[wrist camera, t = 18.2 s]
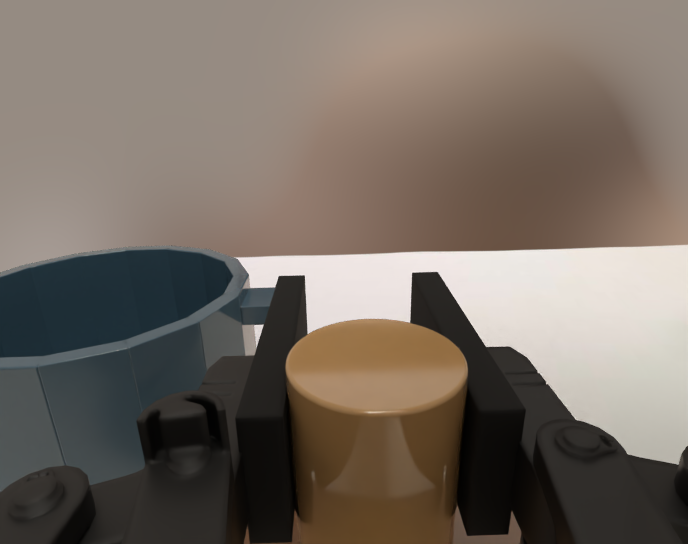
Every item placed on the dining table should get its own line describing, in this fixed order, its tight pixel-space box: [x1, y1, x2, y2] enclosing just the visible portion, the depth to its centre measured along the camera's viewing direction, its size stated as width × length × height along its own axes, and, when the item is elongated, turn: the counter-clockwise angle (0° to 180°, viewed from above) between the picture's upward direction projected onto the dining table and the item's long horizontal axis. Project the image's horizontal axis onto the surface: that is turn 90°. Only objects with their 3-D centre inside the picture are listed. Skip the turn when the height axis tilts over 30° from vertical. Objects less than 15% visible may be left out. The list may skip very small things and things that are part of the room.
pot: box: [0, 246, 275, 492], centre depth 24 cm, size 15×20×8 cm
